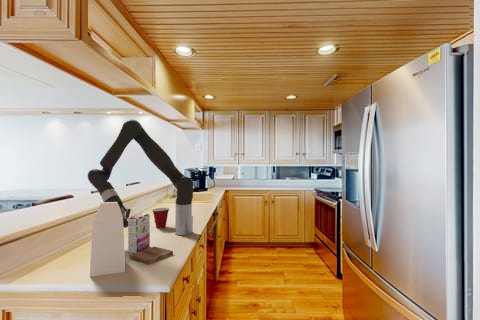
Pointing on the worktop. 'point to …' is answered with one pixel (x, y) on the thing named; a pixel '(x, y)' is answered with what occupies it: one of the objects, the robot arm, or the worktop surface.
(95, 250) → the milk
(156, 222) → the plastic cup
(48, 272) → the worktop surface
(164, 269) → the worktop surface
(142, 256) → the board
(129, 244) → the candy bar box
